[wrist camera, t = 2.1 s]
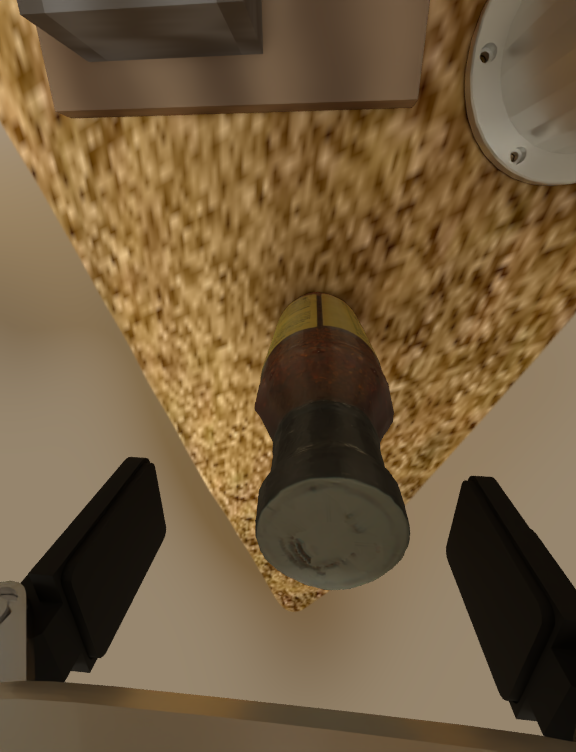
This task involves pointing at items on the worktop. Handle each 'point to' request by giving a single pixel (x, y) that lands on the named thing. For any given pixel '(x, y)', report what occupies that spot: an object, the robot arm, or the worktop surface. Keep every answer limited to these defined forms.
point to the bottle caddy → (228, 55)
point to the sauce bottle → (327, 451)
